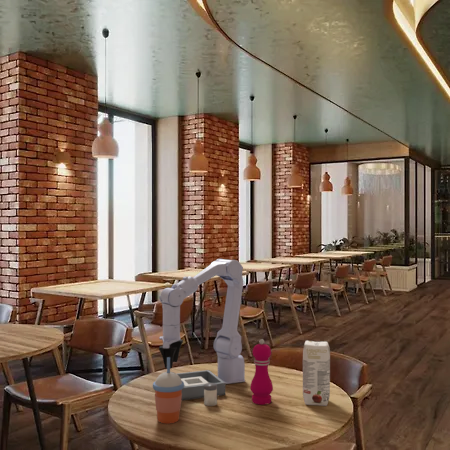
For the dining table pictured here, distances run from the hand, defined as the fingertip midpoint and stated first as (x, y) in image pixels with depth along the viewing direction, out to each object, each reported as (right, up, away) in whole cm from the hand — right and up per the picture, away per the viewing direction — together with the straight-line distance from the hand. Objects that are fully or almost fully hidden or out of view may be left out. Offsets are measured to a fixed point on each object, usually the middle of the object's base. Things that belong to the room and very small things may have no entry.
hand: (171, 364), depth 169 cm
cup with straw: (+2, -10, -22) cm, 24 cm away
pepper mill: (+30, -10, -7) cm, 32 cm away
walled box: (+7, -10, +4) cm, 13 cm away
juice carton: (+47, -10, -7) cm, 49 cm away
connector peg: (+13, -10, -9) cm, 19 cm away
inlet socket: (+7, -10, +4) cm, 13 cm away
